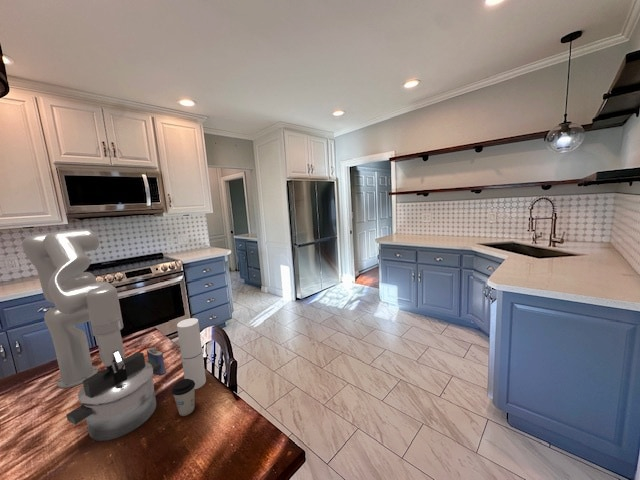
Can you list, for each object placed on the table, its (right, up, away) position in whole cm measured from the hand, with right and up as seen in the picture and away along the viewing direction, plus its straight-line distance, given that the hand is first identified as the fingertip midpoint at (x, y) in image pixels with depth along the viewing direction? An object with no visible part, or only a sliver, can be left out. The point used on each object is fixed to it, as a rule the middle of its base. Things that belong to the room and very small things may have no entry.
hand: (117, 375), depth 85 cm
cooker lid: (0, -3, 0) cm, 3 cm away
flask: (-3, -11, +25) cm, 28 cm away
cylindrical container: (+18, -12, +17) cm, 27 cm away
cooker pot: (+1, -15, +2) cm, 15 cm away
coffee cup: (+21, -14, +4) cm, 25 cm away
